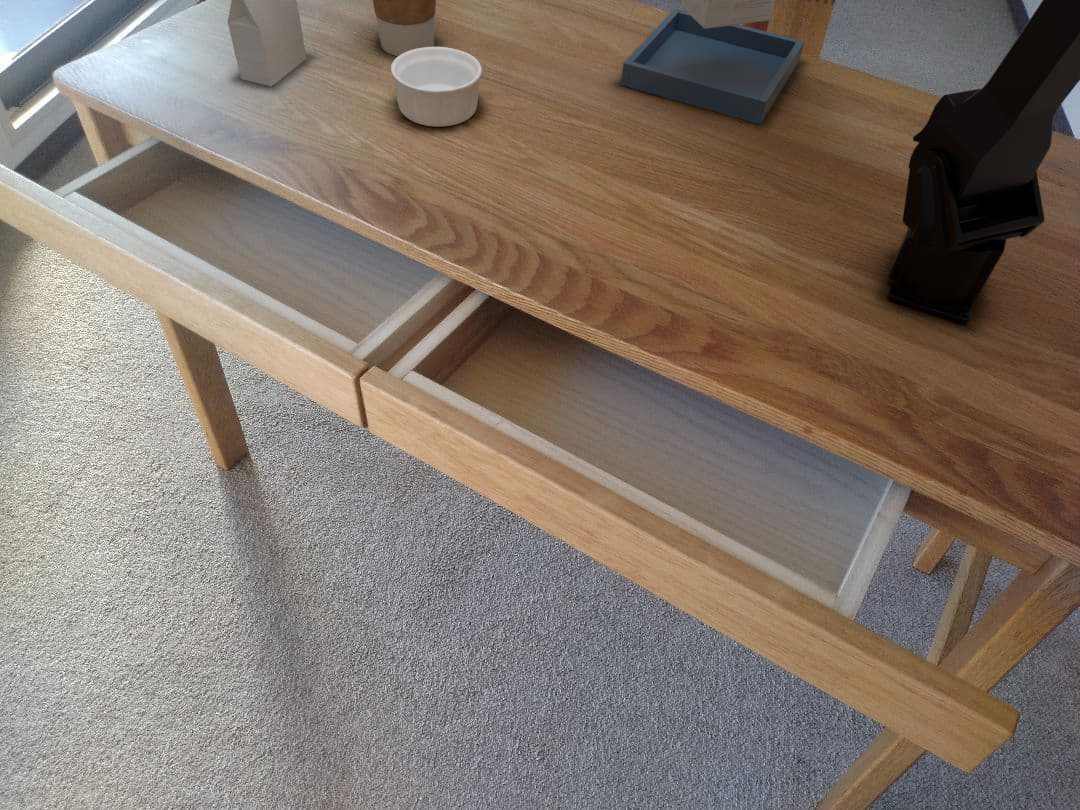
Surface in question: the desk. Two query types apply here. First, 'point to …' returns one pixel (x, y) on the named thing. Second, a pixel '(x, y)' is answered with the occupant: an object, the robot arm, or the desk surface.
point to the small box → (728, 11)
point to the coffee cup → (405, 24)
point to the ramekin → (436, 85)
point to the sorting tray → (713, 66)
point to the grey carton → (266, 39)
